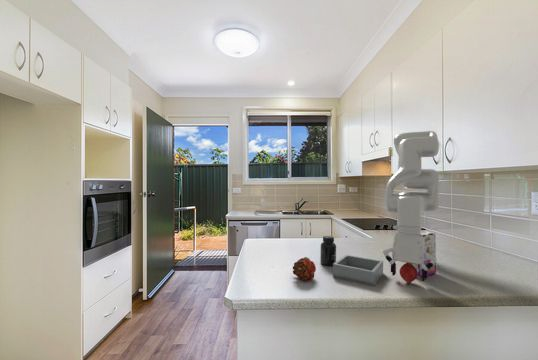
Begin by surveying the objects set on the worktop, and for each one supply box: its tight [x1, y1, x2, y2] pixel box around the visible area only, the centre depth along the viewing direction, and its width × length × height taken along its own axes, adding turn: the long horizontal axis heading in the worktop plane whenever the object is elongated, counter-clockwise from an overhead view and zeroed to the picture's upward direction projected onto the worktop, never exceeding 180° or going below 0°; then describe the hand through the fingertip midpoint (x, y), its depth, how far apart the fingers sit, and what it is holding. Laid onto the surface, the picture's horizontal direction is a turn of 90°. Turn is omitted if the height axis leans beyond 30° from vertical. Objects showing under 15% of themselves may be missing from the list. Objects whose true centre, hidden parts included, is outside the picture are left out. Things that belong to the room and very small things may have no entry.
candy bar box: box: [411, 230, 437, 279], centre depth 103 cm, size 11×5×16 cm, turn 117°
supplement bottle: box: [319, 235, 337, 267], centre depth 115 cm, size 7×7×12 cm
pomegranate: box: [399, 262, 418, 284], centre depth 94 cm, size 6×6×8 cm
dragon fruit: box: [292, 256, 317, 282], centre depth 99 cm, size 8×8×12 cm
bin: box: [332, 254, 384, 287], centre depth 102 cm, size 15×15×5 cm
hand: (408, 277), depth 94 cm, fingers open, 9 cm apart
